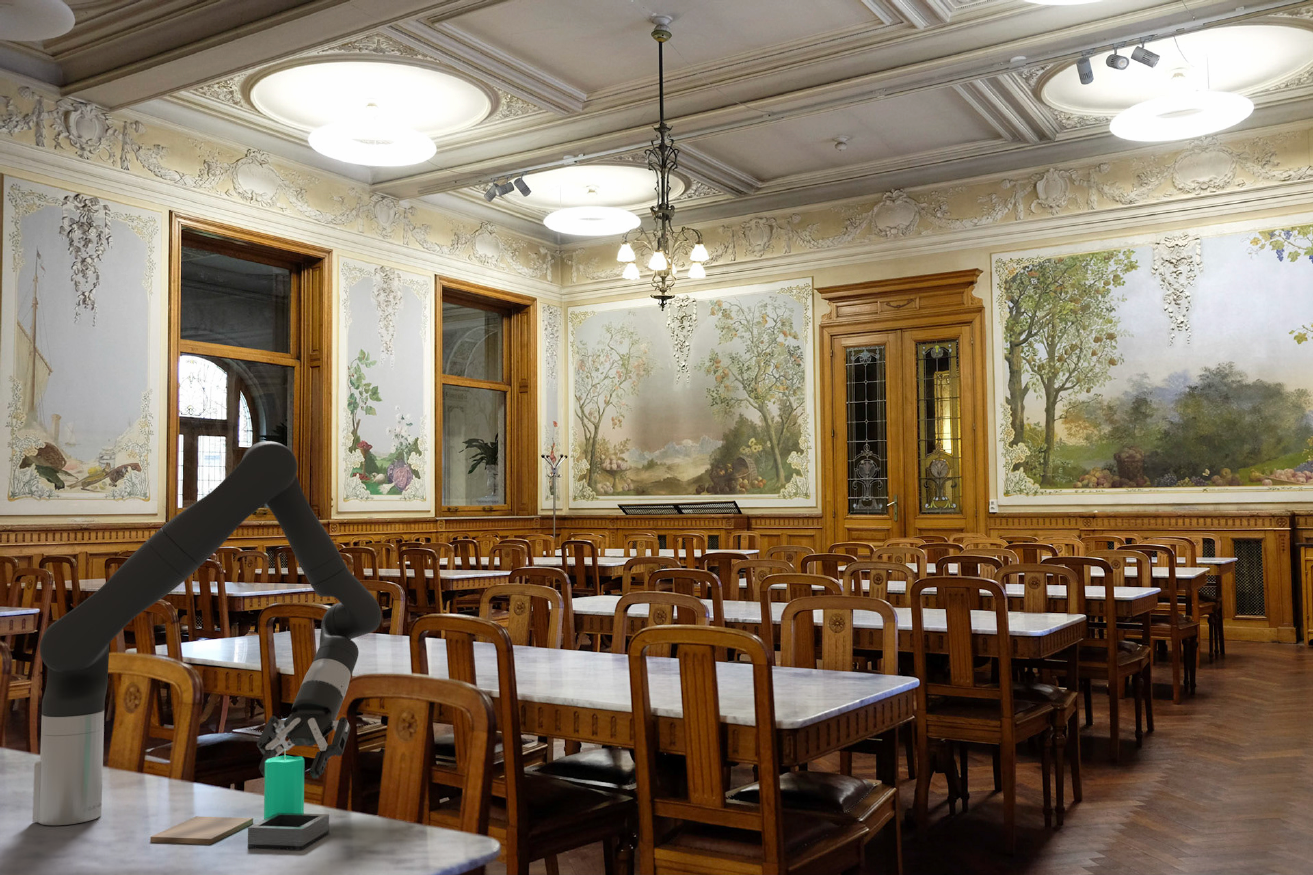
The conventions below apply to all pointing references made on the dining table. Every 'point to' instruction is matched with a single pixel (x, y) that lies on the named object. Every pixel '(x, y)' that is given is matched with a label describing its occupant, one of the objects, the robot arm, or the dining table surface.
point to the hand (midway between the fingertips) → (288, 774)
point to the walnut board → (202, 830)
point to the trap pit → (288, 831)
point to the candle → (284, 785)
